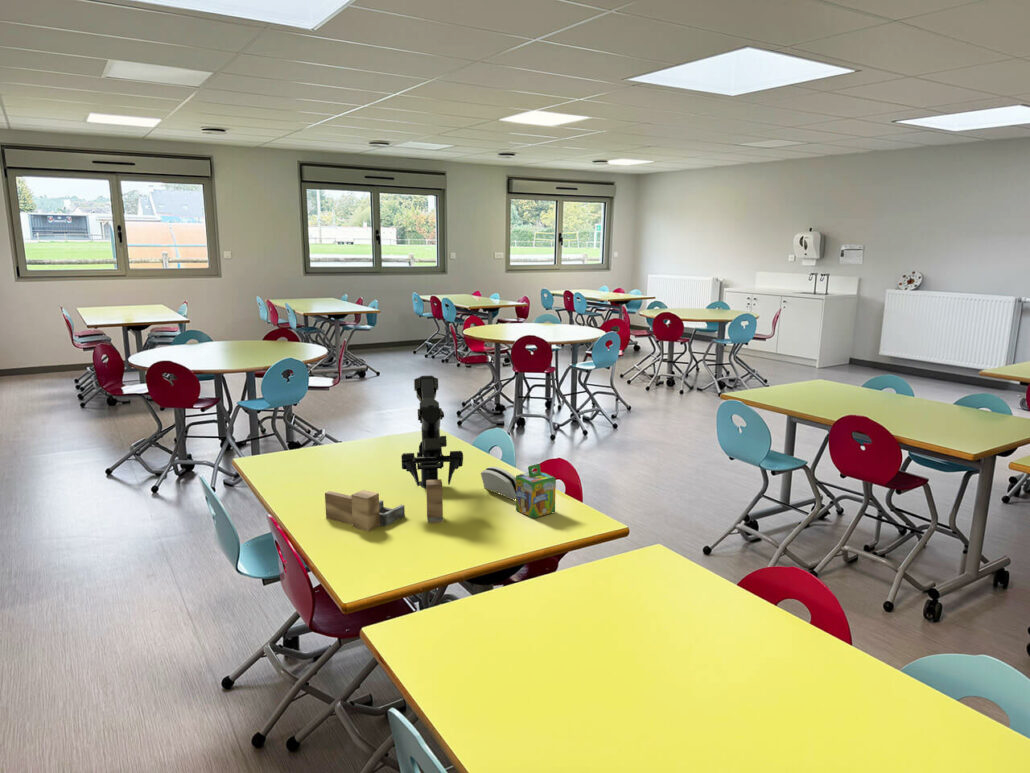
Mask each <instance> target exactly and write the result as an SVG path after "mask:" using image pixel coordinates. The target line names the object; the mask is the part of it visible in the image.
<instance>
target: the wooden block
mask: <svg viewBox="0 0 1030 773" xmlns="http://www.w3.org/2000/svg"><path fill="white" fill-rule="evenodd" d="M425 489H426V520H427V524H428V523H430V524H443V523H444V509H443V507H444V506H443V505H444V504H443V503H444V502H443V498H444V497H443V480H442V479H439V478H438V479H437V480H426V488H425Z"/></svg>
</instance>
